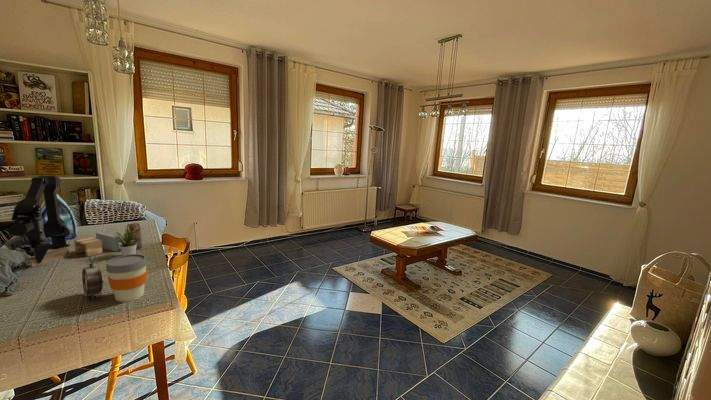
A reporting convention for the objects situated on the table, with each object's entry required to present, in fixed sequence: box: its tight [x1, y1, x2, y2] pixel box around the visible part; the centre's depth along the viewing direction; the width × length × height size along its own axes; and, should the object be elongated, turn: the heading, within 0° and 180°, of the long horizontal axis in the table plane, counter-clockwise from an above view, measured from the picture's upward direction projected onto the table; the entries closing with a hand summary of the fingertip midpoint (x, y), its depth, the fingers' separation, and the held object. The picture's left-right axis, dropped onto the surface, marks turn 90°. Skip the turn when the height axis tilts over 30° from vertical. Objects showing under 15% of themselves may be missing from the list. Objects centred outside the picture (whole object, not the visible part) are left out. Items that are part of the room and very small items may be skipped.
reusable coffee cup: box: [105, 253, 148, 303], centre depth 113 cm, size 13×13×15 cm
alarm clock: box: [81, 256, 104, 302], centre depth 112 cm, size 11×5×16 cm, turn 49°
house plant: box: [112, 226, 143, 256], centre depth 152 cm, size 14×14×16 cm
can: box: [125, 222, 143, 251], centre depth 163 cm, size 6×6×14 cm
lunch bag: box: [39, 194, 79, 243], centre depth 174 cm, size 22×17×26 cm
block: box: [73, 236, 103, 258], centre depth 153 cm, size 11×6×7 cm, turn 69°
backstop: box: [95, 231, 120, 252], centre depth 161 cm, size 16×2×8 cm, turn 69°
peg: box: [28, 247, 70, 268], centre depth 142 cm, size 4×15×4 cm, turn 169°
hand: (35, 261), depth 138 cm, fingers open, 6 cm apart
